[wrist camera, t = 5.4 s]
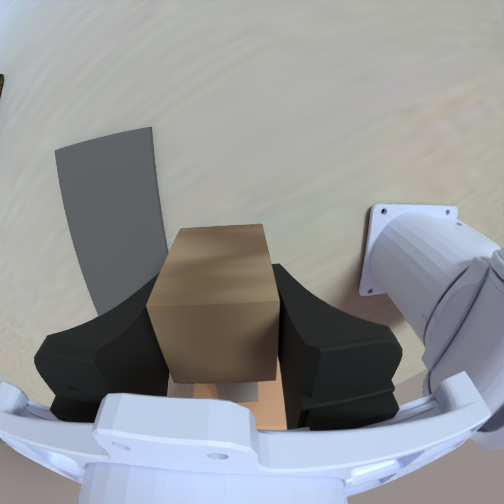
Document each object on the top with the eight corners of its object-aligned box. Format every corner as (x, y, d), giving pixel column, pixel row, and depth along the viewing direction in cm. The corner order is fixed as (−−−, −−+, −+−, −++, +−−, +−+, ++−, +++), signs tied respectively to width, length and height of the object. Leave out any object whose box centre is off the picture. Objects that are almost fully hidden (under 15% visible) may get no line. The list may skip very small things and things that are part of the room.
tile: (280, 351, 25) (293, 423, 17) (280, 363, 25) (292, 431, 18) (197, 356, 24) (189, 427, 17) (200, 367, 25) (193, 435, 18)
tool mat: (151, 127, 15) (149, 127, 15) (188, 340, 23) (187, 344, 23) (58, 149, 15) (54, 150, 15) (111, 338, 23) (110, 341, 23)
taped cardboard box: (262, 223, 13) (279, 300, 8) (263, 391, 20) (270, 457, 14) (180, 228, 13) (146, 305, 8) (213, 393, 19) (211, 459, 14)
